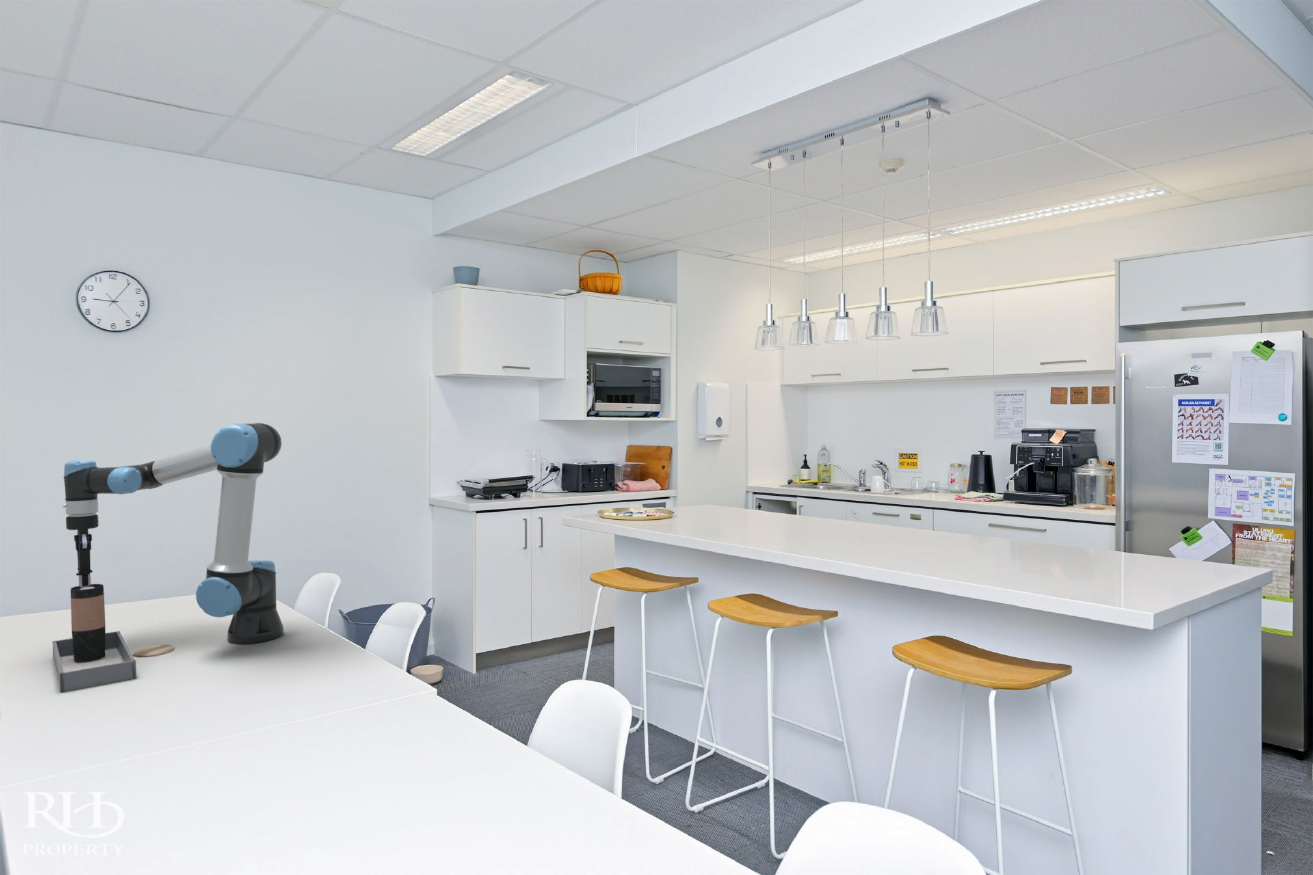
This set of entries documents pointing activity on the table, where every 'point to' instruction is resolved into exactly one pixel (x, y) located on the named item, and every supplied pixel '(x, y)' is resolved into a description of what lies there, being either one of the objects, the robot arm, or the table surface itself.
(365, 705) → the table surface
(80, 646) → the travel mug
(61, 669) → the tray
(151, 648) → the cork coaster
